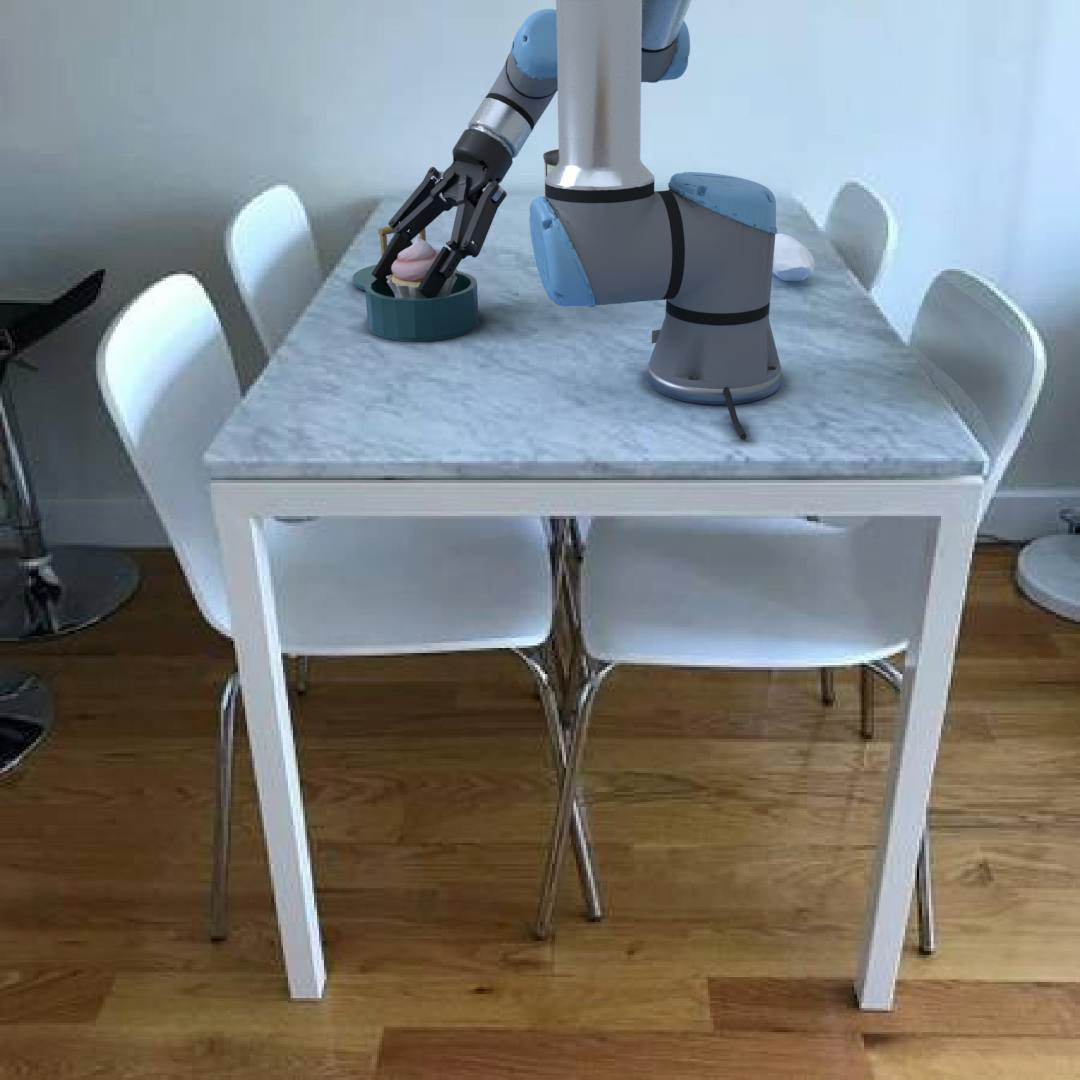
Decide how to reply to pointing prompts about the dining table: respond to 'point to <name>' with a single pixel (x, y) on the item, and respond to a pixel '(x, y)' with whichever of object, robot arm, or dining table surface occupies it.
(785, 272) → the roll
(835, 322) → the dining table surface
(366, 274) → the tin lid
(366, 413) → the dining table surface
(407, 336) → the tin
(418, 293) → the cupcake
